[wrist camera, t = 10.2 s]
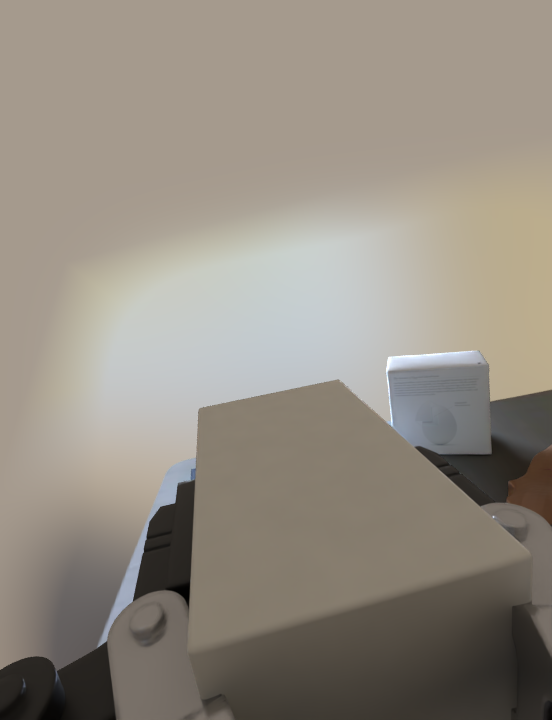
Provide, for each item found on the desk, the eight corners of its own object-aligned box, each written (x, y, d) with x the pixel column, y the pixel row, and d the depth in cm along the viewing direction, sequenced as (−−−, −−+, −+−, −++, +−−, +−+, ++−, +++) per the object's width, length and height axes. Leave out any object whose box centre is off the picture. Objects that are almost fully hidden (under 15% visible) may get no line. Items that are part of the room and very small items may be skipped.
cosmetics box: (481, 428, 49) (480, 347, 46) (492, 456, 44) (491, 365, 41) (394, 429, 53) (387, 354, 50) (393, 455, 47) (385, 371, 44)
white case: (293, 1032, 7) (185, 651, 5) (247, 630, 15) (197, 407, 12) (524, 936, 8) (535, 553, 5) (365, 597, 15) (339, 378, 13)
